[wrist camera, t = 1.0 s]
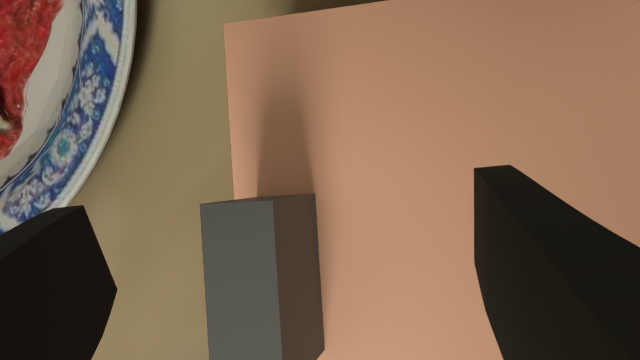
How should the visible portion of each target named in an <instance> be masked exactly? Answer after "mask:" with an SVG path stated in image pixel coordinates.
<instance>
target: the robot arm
mask: <svg viewBox="0 0 640 360" xmlns="http://www.w3.org/2000/svg"><path fill="white" fill-rule="evenodd" d="M474 264H475V268H476V273H477V277H478V282H479V286H480V290H481V295H482V299H483V303H484V307H485V311H486V314H487V317H488V319H489V322H490V325H491V328H492V330H493V333H494V336H495V338H496V341H497V344H498V347H499V349H500V352H501V355H502V357H503V360H640V247H638V246H637V245H635V244H633V243H631V242H630V241H628V240H626V239H624V238H623V237H621V236H619V235H617V234H616V233H614V232H612V231H610V230H609V229H607V228H605V227H604V226H602V225H600V224H599V223H597V222H596V221H594V220H592V219H591V218H589V217H588V216H586V215H584V214H583V213H581V212H580V211H578V210H577V209H575V208H574V207H572V206H571V205H569V204H567V203H566V202H565V201H563V200H562V199H560V198H559V197H557V196H556V195H554V194H553V193H551V192H550V191H548V190H547V189H545V188H544V187H543V186H541V185H540V184H538V183H537V182H535V181H534V180H533V179H531V178H530V177H528V176H527V175H525V174H524V173H522V172H521V171H519V170H518V169H516V168H515V167H513V166H511V165H500V166H490V167H479V168H474ZM116 293H117V287H116V285H115V282H114V280H113V278H112V275H111V273H110V270H109V268H108V265H107V263H106V260H105V258H104V255H103V253H102V250H101V248H100V245H99V243H98V240H97V238H96V236H95V233H94V231H93V228H92V226H91V223H90V221H89V218H88V216H87V213H86V211H85V208H84V206H83V205H81V206H70V207H60V208H52V209H50V210H48V211H45V212H43V213H41V214H38V215H36V216H34V217H32V218H30V219H29V220H27V221H25V222H23V223H21V224H19V225H17V226H15V227H14V228H12V229H10V230H8V231H7V232H5V233H3V234H1V235H0V360H91V359H92V357H93V355H94V353H95V351H96V348H97V346H98V344H99V342H100V340H101V338H102V336H103V333H104V330H105V327H106V324H107V321H108V319H109V316H110V312H111V309H112V306H113V303H114V299H115V296H116Z"/></svg>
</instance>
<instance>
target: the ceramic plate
mask: <svg viewBox="0 0 640 360" xmlns="http://www.w3.org/2000/svg"><path fill="white" fill-rule="evenodd" d="M136 27H137V0H0V235H1V234H3V233H5V232H7V231H8V230H10V229H12V228H14V227H15V226H17V225H19V224H21V223H23V222H25V221H27V220H29V219H30V218H32V217H34V216H36V215H38V214H41V213H43V212H45V211H48V210H50V209H52V208H60V207H67V205H68V204H69V203H70V202H71V200H72V199H73V198H74V196H75V195H76V194H77V192H78V191H79V190H80V188H81V187H82V186H83V184H84V183H85V181H86V179H87V178H88V176H89V174H90V173H91V171H92V170H93V168H94V166H95V165H96V163H97V161H98V159H99V157H100V155H101V153H102V151H103V149H104V147H105V145H106V143H107V141H108V139H109V137H110V134H111V132H112V129H113V127H114V124H115V122H116V119H117V116H118V114H119V111H120V108H121V104H122V101H123V98H124V94H125V91H126V87H127V84H128V79H129V74H130V69H131V64H132V59H133V53H134V44H135V35H136Z"/></svg>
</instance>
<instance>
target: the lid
mask: <svg viewBox="0 0 640 360" xmlns="http://www.w3.org/2000/svg"><path fill="white" fill-rule="evenodd" d="M224 40H225V56H226V73H227V89H228V105H229V121H230V137H231V154H232V170H233V186H234V200H229V201H221V202H213V203H205V204H200V216H201V232H202V248H203V265H204V281H205V297H206V313H207V329H208V345H209V360H503V357H502V355H501V352H500V349H499V347H498V344H497V341H496V338H495V336H494V333H493V330H492V328H491V325H490V322H489V319H488V317H487V314H486V311H485V307H484V303H483V299H482V295H481V290H480V286H479V282H478V277H477V273H476V268H475V264H474V168H479V167H490V166H500V165H511V166H513V167H515V168H516V169H518V170H519V171H521V172H522V173H524V174H525V175H527V176H528V177H530V178H531V179H533V180H534V181H535V182H537V183H538V184H540V185H541V186H543V187H544V188H545V189H547V190H548V191H550V192H551V193H553V194H554V195H556V196H557V197H559V198H560V199H562V200H563V201H565V202H566V203H567V204H569V205H571V206H572V207H574V208H575V209H577V210H578V211H580V212H581V213H583V214H584V215H586V216H588V217H589V218H591V219H592V220H594V221H596V222H597V223H599V224H600V225H602V226H604V227H605V228H607V229H609V230H610V231H612V232H614V233H616V234H617V235H619V236H621V237H623V238H624V239H626V240H628V241H630V242H631V243H633V244H635V245H637V246H638V247H640V0H387V1H380V2H373V3H366V4H359V5H352V6H345V7H338V8H331V9H325V10H318V11H311V12H304V13H297V14H290V15H283V16H276V17H269V18H262V19H255V20H248V21H241V22H234V23H227V24H224Z"/></svg>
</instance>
